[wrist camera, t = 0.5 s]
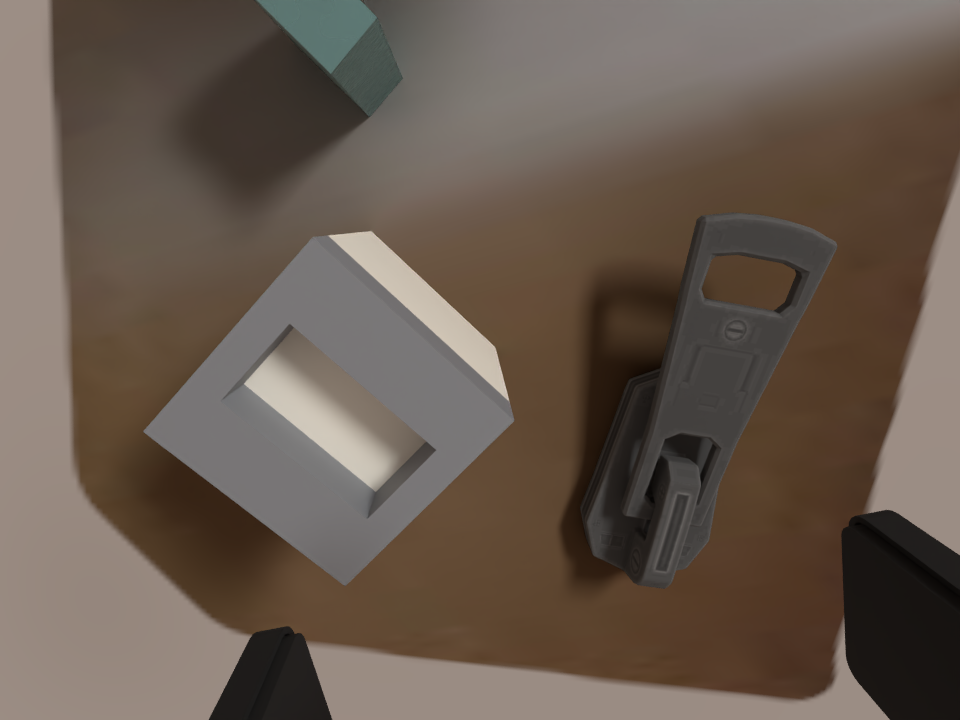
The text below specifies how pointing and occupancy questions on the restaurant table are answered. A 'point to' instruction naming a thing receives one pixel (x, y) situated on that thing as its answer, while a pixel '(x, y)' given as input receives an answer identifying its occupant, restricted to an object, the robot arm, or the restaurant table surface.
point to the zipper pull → (695, 402)
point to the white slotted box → (340, 403)
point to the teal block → (341, 45)
